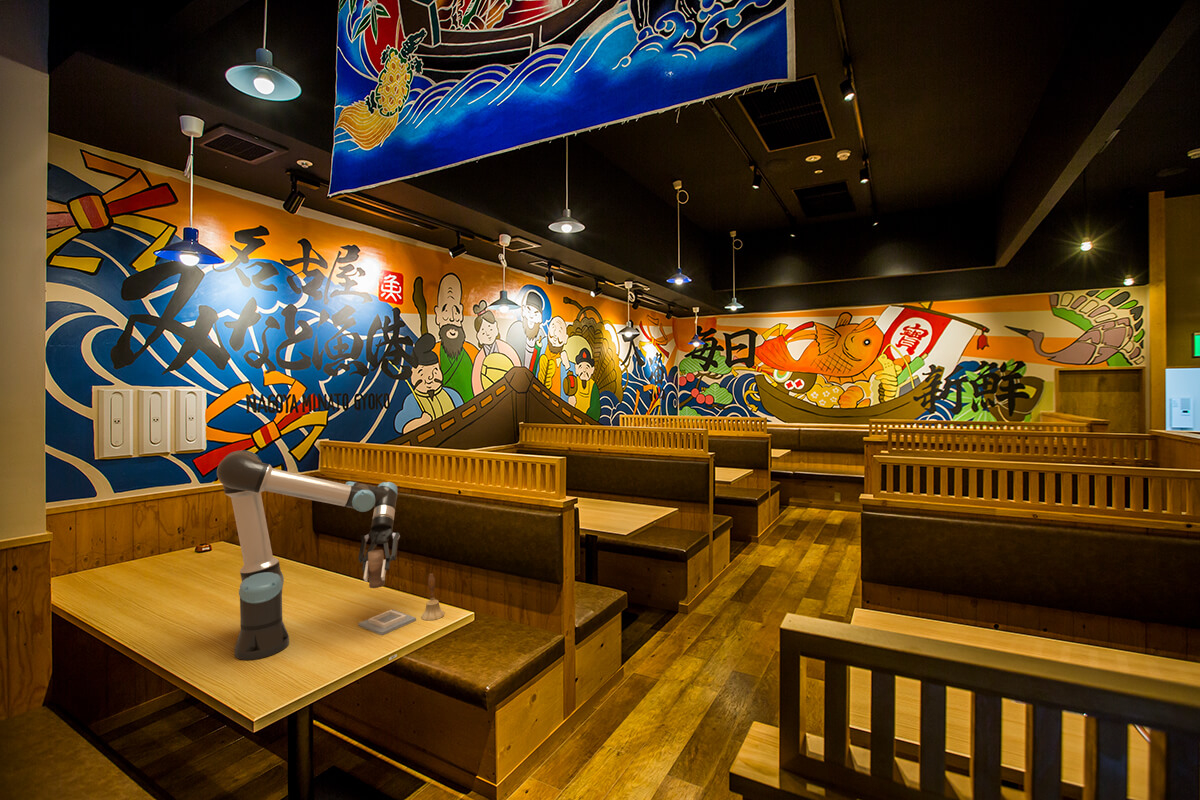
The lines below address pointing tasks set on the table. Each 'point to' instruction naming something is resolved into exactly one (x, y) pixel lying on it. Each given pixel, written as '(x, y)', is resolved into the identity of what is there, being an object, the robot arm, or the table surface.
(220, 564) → the table surface
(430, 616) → the hand bell
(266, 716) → the table surface
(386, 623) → the board
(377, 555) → the walnut pin
